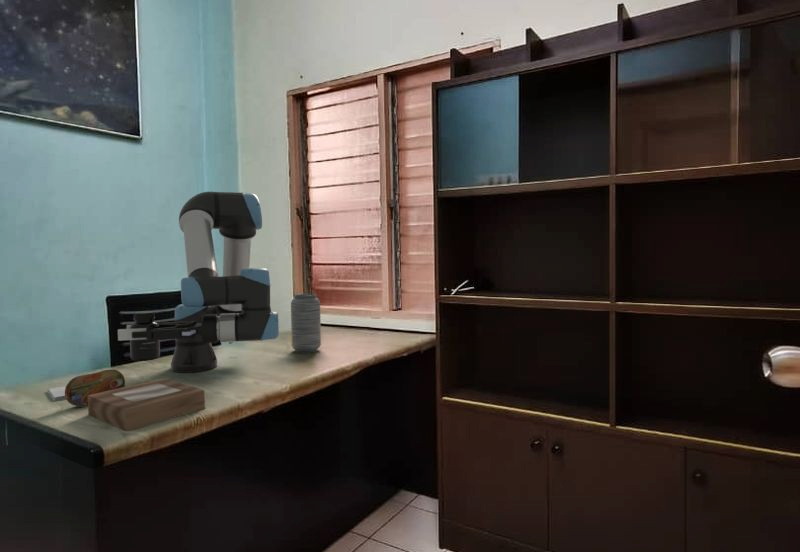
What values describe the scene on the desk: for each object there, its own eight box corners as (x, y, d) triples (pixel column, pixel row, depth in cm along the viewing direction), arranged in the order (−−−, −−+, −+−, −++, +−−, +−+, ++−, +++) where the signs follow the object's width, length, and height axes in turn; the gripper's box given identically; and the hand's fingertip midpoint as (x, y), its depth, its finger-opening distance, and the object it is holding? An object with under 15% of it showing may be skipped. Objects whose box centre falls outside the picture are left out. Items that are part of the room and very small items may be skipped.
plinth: (88, 414, 128) (87, 395, 128) (164, 395, 144) (164, 378, 144) (126, 431, 116) (125, 409, 116) (204, 408, 132) (204, 389, 132)
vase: (285, 352, 201) (284, 295, 200) (302, 347, 212) (301, 293, 210) (310, 355, 197) (309, 296, 195) (326, 349, 207) (325, 293, 206)
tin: (69, 410, 131) (68, 379, 131) (63, 409, 133) (62, 377, 133) (126, 396, 144) (125, 367, 144) (120, 394, 146) (118, 365, 145)
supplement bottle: (148, 362, 125) (146, 314, 124) (124, 361, 126) (122, 313, 126) (166, 356, 132) (164, 310, 131) (143, 355, 133) (141, 310, 132)
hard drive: (88, 391, 145) (79, 383, 154) (54, 397, 140) (47, 388, 149) (88, 397, 145) (80, 388, 154) (54, 403, 140) (47, 393, 149)
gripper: (214, 349, 124) (111, 355, 118) (223, 336, 143) (134, 340, 137) (213, 319, 123) (109, 323, 118) (222, 309, 142) (133, 313, 137)
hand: (123, 332), depth 128 cm, fingers closed on supplement bottle, 7 cm apart
